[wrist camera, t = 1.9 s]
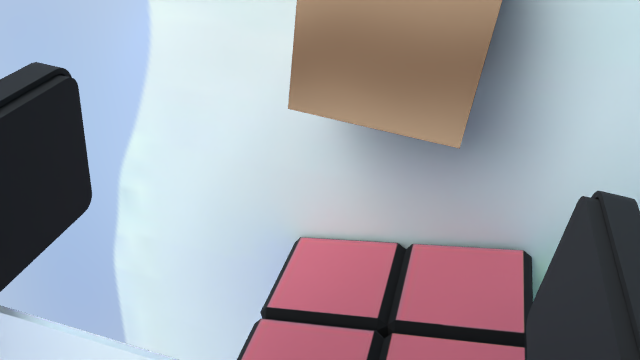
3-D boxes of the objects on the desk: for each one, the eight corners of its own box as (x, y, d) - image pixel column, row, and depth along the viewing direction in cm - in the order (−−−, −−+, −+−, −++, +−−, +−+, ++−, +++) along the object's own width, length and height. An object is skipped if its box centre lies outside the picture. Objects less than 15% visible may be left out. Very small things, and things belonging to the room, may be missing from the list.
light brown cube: (350, -105, 18) (303, -75, 14) (514, -78, 17) (513, -38, 13) (332, 47, 21) (288, 108, 17) (471, 77, 20) (459, 148, 16)
